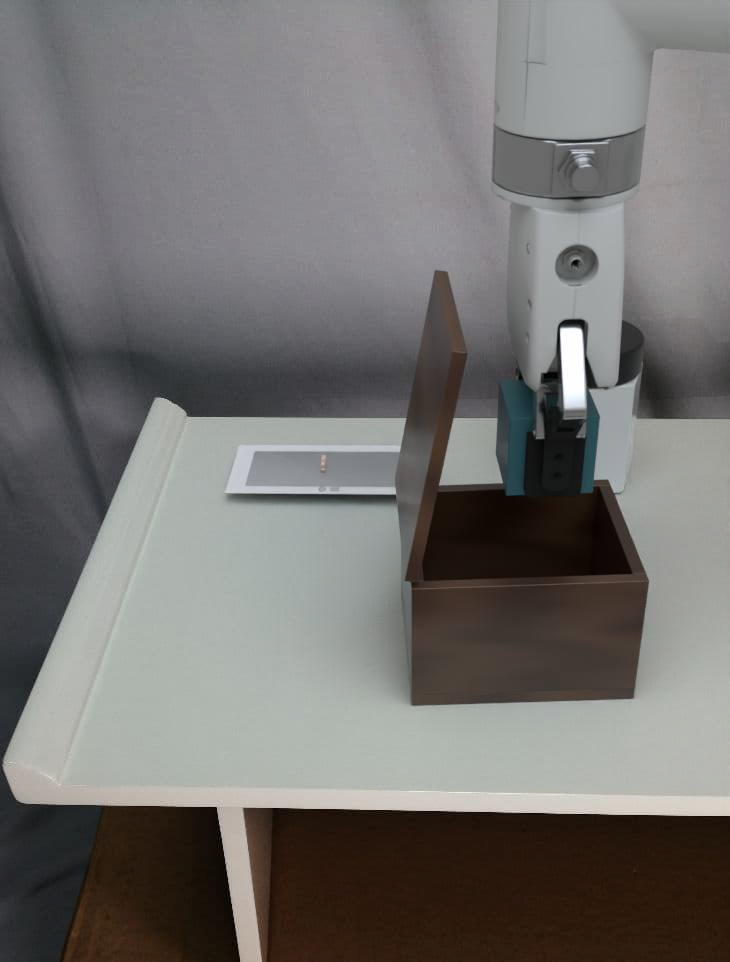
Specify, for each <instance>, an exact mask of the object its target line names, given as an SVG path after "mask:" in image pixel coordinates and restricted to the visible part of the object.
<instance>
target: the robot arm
mask: <svg viewBox="0 0 730 962" xmlns="http://www.w3.org/2000/svg"><path fill="white" fill-rule="evenodd" d="M496 22H497V24H496V44H495V45H496V49H495V75H494V98H493V99H494V100H493V101H494V102H493V104H494V105H493V124H492V127H493V128H492V148H491V149H492V150H491V151H492V152H491V174H490V175H491V180H490V181H491V182H490V185H491V186H490V187H491V188H490V189H491V192H492V193H493V194H494V195H495V196H496V197H498V198H500V199H502V200H503V201H506V202H508V203H510V205H509V210H510V213H509V226H508V228H509V229H508V243H507V262H506V264H507V265H506V324H507V332H508V335H509V340H510V342H511V346H512V349H513V353H514V356H515V359H516V362H515V373H514V374H515V380H524V382H525V384H526V385H527V386H528V387H530V388H531V389H532V390H533V432H527V439H526V455H525V471H524V493H525V495H526V496H527V497H528V498H548V497H575V496H577V495H579V494H580V492H581V486H582V475H583V464H584V454H585V443H586V417H587V380H588V367H589V369H590V371H591V374H592V376H593V378H594V380H595V383H596V385H597V387H603V388H604V389H605V390H610V389H611V388H613V387H614V386H615V384H616V383H617V381H618V374H619V359H620V343H621V327H622V320H623V308H624V292H625V291H624V289H625V288H624V287H625V266H626V224H625V223H626V221H625V202H627V201H629V200H631V199H633V198H634V197H635V196H637V195H638V193H639V192H640V185H641V176H642V175H641V174H642V165H643V158H644V157H643V156H644V147H645V139H646V138H645V137H646V128H647V120H648V110H649V102H650V101H649V100H650V91H651V81H652V72H653V64H654V55H655V51H656V50H660V49H666V50H681V51H694V52H705V53H713V54H714V53H715V54H727V55H730V0H497V21H496ZM554 378H558V380H552V381H543V380H544V379H554ZM556 394H559V395H558V402H557V406H550V408H549V410H548V412H546V395H556Z"/></svg>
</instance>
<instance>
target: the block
mask: <svg viewBox="0 0 730 962" xmlns="http://www.w3.org/2000/svg"><path fill="white" fill-rule="evenodd" d="M552 380H558V378H554V379H544V380H543V381H552ZM558 395H559V394H556V395H546V412H548V410H549V408H550V406H557V402H558ZM497 396H498V397H497V415H496V416H497V418H496V440H495V456H496V460H497V465H498V469H499V473H500V477H501V482H502V483H503V485H504V489H505V493H506V496H512V495H525V493H524V471H525V455H526V439H527V432H533V390H532V389H531V388H530V387H528V386H527V385H526V384H525V382H524V380H516V379H500V380H499V381H498V395H497ZM599 423H600V415H599V412H598V410H597V408H596V405H595V403H594V401H593V398H592V396H591V394H590V391H589V389H588V386H587V417H586V443H585V454H584V464H583V475H582V486H581V492H580V493H592V492H593V483H594V473H595V463H596V453H597V443H598V433H599Z"/></svg>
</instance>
